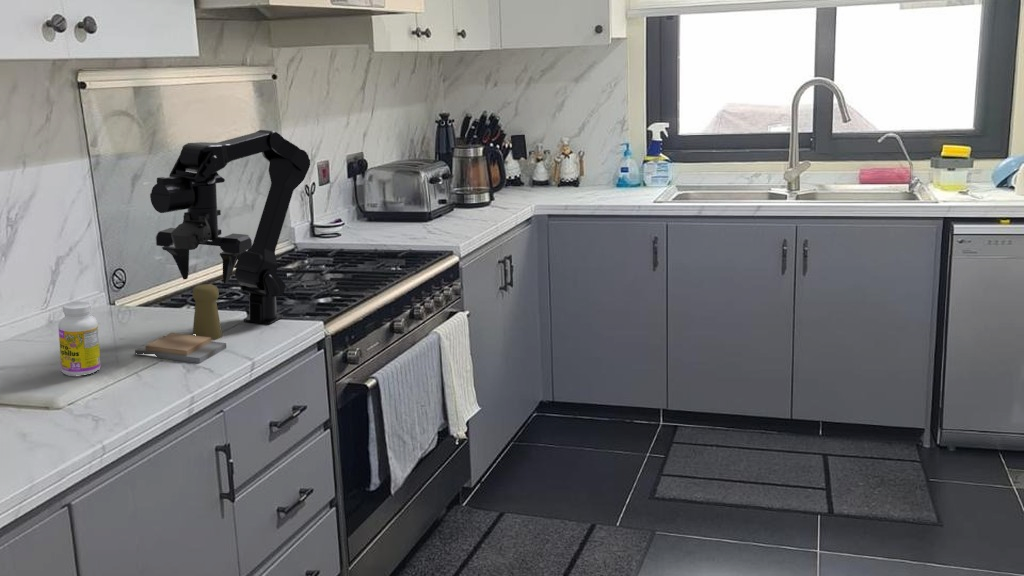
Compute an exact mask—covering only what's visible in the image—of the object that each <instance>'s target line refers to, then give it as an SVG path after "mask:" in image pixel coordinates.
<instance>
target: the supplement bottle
mask: <svg viewBox="0 0 1024 576" xmlns="http://www.w3.org/2000/svg"><path fill="white" fill-rule="evenodd" d="M62 312H63V314H64V317H62V318H61V319H60V320H59V322H58V325H57V326H58V341H59V353H60V365H61V366H60V368H61V373H63V374H64V375H65V376H69V377H77V376H76V375H84V374H89V373H93V372H95V371H97V370H99V371H100V369H101V354H100V353H101V352H100V338H99V324H98V323H99V322H98V320H97V318H96V317H95V316H93V315H92V314H91V312H92V305H91V303H90V302H88V301H70V302H67V303H65V304H63V305H62ZM97 372H98V371H97ZM93 374H94V373H93Z"/></svg>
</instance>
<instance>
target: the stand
mask: <svg viewBox="0 0 1024 576" xmlns="http://www.w3.org/2000/svg"><path fill="white" fill-rule="evenodd" d="M225 349H227V343H226V342H219V341H214V340H211V337H203V336H195V335H192V334H186V333H185V334H183V333H179V332H170V333H168V334H166V335H163V336H161V337H159V338H156V339H154V340H153V341H150V342H148V343H147V344H145V345H143V346H141V347H138V348H136V349H135V353H134V354H136V353H137V354H143V353H144V354H155V355H156V356H157V358H158V359H165V360H173V361H174V360H175V361H180V362H190V363H197V364H201V363H203V362H204V361H206V360H208V359H209V358H211V357H213V356H215V355H217V354H218V353H220V352H222V351H223V350H225ZM157 358H156V359H157Z"/></svg>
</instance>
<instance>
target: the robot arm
mask: <svg viewBox="0 0 1024 576" xmlns="http://www.w3.org/2000/svg"><path fill="white" fill-rule="evenodd" d="M260 153H261V154H262V157H263V158H265V160H266V161H267V162H269V165H268V175H269V179H270V183H271V184H270V187H269V189H268V192H267V193H268V194H267V196H266V200H265V204H264V207H263V210H262V213H261V216H260V218H259V223H258V225H257V229H256V233H255V235H254V240H253V242H252V239H251V237H250V235H249V234H244V233H243V234H242V233H231V234H228V235H225V236H220V235H222V229H219V225H218V224H219V221H218V219H219V218H218V216H221V215H222V214H221V211H222V210H221V209H218V203H217V202H218V201H217V200H218V199H217V198H218V197H217V184H218V183H219V184H221V183H225V181H226V180H225V178H224V177H223V176H221V175H220V174H219V173H218V172H219V171H221V170H223V169H225V167H226V166H227V165H228V164H229V163H230V162H233V161H237V160H241V159H243V158H246V157H250V156H254V155H257V154H260ZM310 166H311V159H310V157H309V154H308V152H306V151H305V149H301V148H300V147H298V146H297V145H296V144H295V143H292V142H290V141H289V140H287V139H285V138H284V137H283V136H282V135H281V134H280V133H279V132H277V131H275V130H267V129H259V130H257V131H255V132H252V133H249V134H244V135H240V136H237V137H232V138H230V139H226V140H222V141H218V142H206V141H205V142H187V143H185V144H184V145H183V146H182V149H181V150H180V154H179V156H178V157H177V160H176V161H175V162H174V165H173V167H172V169H171V171H170V173H169V175H168V177H164V176H160V177H157V178H156V183H155V184H154V186H153V187H152V188H151V192H150V194H149V197H150V198H149V199H150V203H151V205H152V207H153V208H154V210H155V211H157V213H160V214H165V213H171V212H177V211H182V210H187V211H185V212H183V221H182V223H180V224H178V225H177V226H176V227H170V228H166V229H163V230H159V231H158V232H157V234H156V235H155V246H158V247H161V249H162V250H163V251H166V252H167V253H168V254H170V255H171V256H172V258H173V259H174V261H175V264H176V265H177V268H178V271H179V272H180V275H181V277H182V279H183V280H187V279H188V277H189V271H190V251H193V250H196V249H198V247H199V245H204V246H213V247H215V246H216V247H219V248H220V249H221V251H222V252H220V253H219V256H220V257H221V260H222V281H223V284H224V285H226V284H228V283H229V281H230V278H231V275H232V274H233V271H235V272H234V277H235V278H236V281H237V283H238V284H239V289H240V291H241V292H246V293H249V295H248V297H249V301H248V303H249V304H248V305H249V310H248V311H249V315H248V316H246V317H245V318H243V322H246V323H247V322H248V323H256V324H266V325H272V324H273V323H275V322H276V321H278V320H280V319H281V318H283V314H282V313H281V314H280V313H277V297H280V296H281V295H283V294H284V293H285V290H286V285H287V284H286V283H285V282H284V281H283V280H282V279H281V278H280V277H279V276H278V275H277V273H278V272H277V271H278V267H279V265H278V261H277V257H276V248H277V246H278V242H279V239H280V236H281V233H282V229H283V226H284V223H285V219H286V216H287V213H288V209H289V206H290V203H291V200H292V196H293V193H294V191H295V189H296V188H298V187H299V185H300V184H301V183H303V182H304V180H305V178H306V176H307V174H308V171H309V170H310ZM234 269H235V270H234Z"/></svg>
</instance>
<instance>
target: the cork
mask: <svg viewBox="0 0 1024 576" xmlns="http://www.w3.org/2000/svg"><path fill="white" fill-rule="evenodd" d="M219 292H220V291H219V288H218V287H217V286H216V285H214V284H209V283H207V284H206V283H203V284H198V285H196V286H195V287H193V289H192V297H193V300H194V302H195V304H194V305H195V306H194V314H193V315H194V316H193V324H192V325H193V326H192V334H196V336H203V337H211V341H215V340H218V339H221V338H222V337H223V332H222V327H221V321H220V316H219V309H218V305H217V300H218V299H219V295H220V294H219Z"/></svg>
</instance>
